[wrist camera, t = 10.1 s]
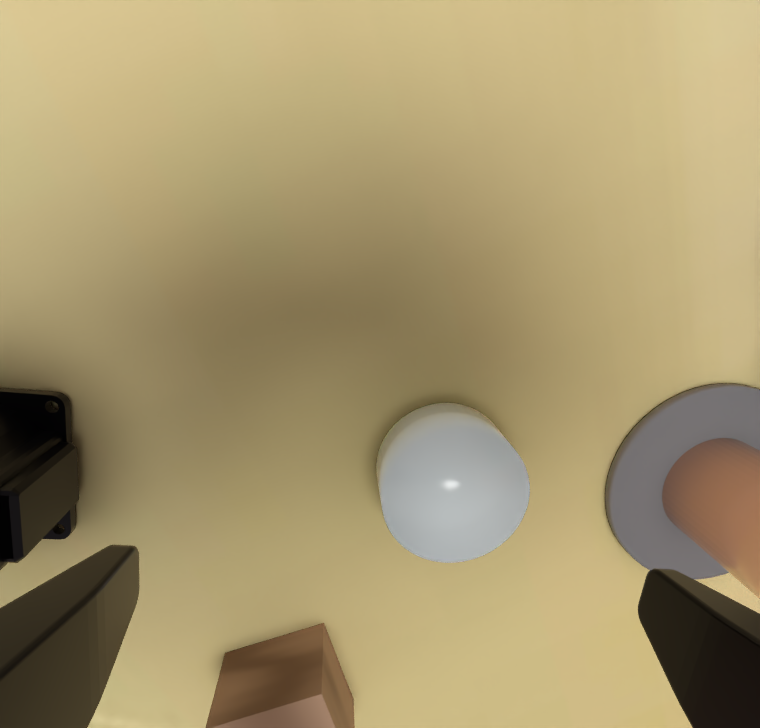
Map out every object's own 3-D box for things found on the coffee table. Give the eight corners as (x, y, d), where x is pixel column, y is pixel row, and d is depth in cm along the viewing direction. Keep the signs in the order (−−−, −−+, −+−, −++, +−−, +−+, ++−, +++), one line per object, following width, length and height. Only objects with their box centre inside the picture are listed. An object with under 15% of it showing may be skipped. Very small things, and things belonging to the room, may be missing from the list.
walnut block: (260, 724, 26) (247, 811, 22) (225, 650, 24) (205, 729, 21) (353, 696, 26) (356, 778, 22) (323, 620, 24) (321, 694, 21)
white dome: (369, 519, 23) (374, 560, 20) (383, 397, 22) (390, 422, 19) (494, 524, 24) (515, 565, 21) (515, 406, 22) (542, 432, 19)
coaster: (585, 567, 25) (591, 575, 24) (632, 374, 22) (640, 378, 22) (767, 575, 26) (777, 582, 25) (831, 392, 23) (844, 396, 23)
